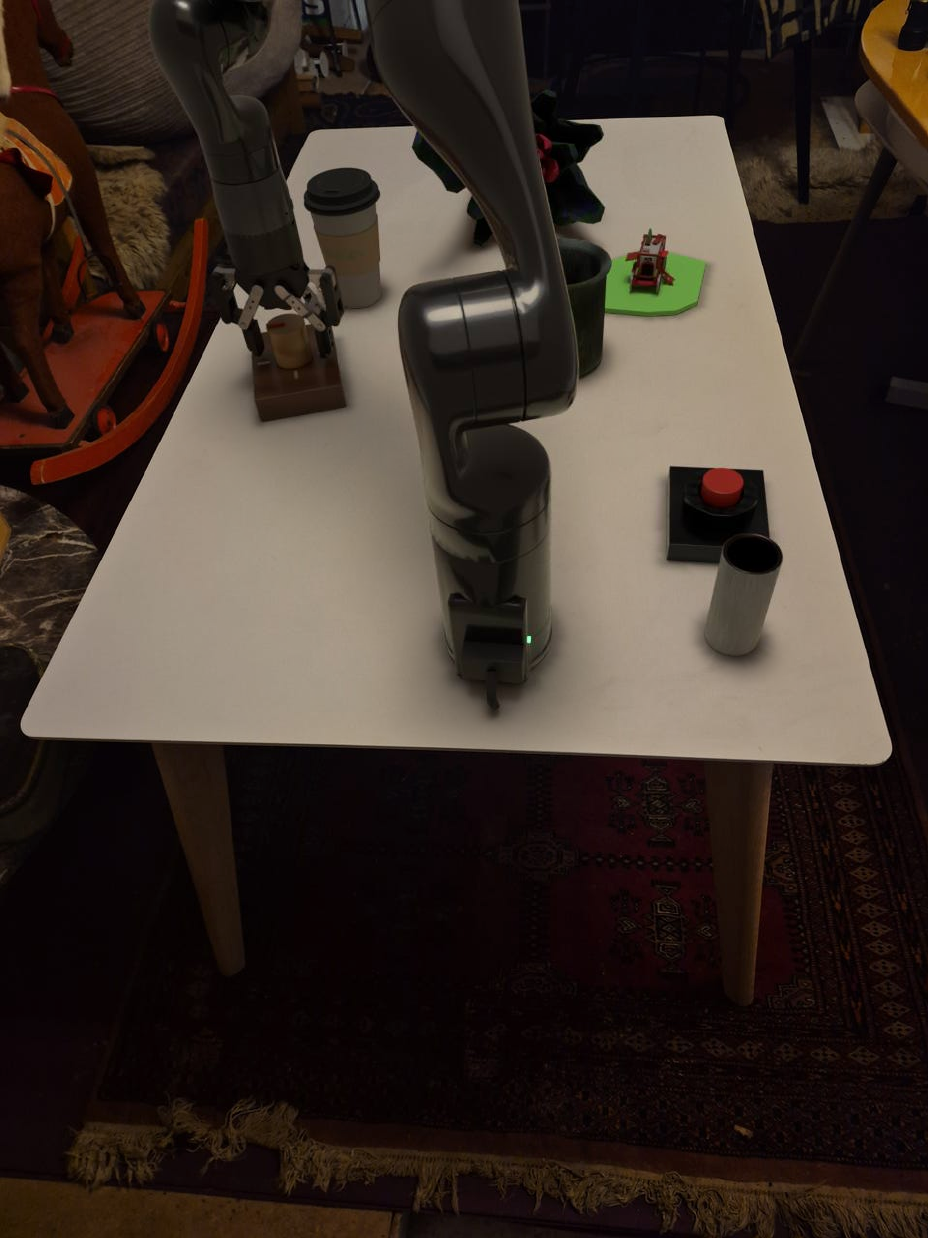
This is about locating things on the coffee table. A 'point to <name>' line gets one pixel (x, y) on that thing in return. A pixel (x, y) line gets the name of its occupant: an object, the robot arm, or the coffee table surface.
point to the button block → (710, 515)
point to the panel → (296, 383)
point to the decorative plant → (559, 166)
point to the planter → (742, 593)
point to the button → (721, 487)
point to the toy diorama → (653, 281)
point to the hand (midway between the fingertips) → (292, 353)
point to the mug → (586, 296)
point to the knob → (289, 340)
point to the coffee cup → (348, 231)
